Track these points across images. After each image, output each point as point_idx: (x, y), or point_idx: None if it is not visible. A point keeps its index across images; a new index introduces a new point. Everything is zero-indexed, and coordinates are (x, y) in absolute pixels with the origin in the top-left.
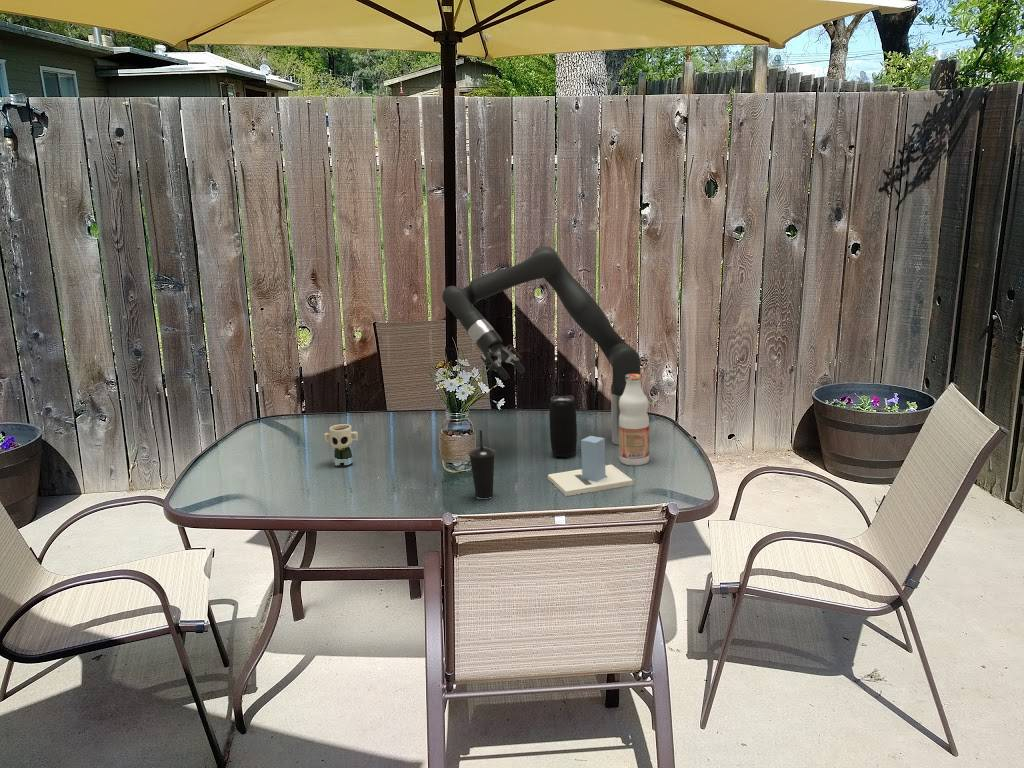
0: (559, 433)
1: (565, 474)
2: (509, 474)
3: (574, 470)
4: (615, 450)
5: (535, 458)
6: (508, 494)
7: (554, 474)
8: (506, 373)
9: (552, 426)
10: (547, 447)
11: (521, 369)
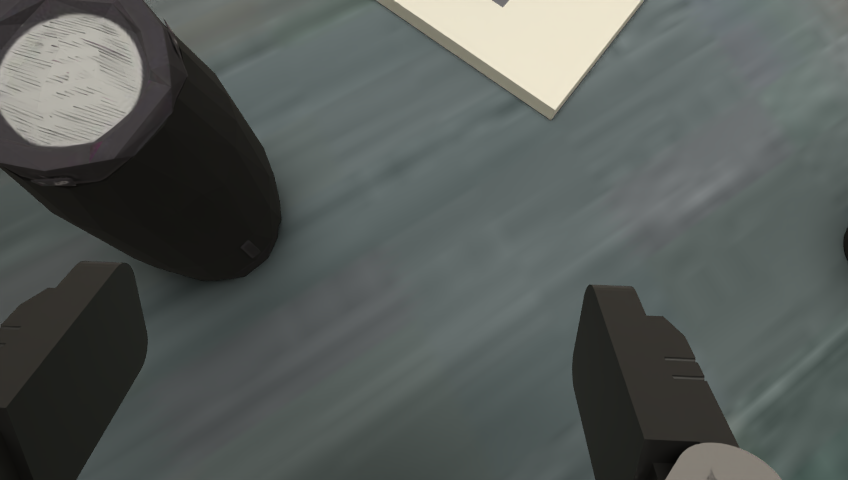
0: (259, 150)
1: (513, 43)
2: None
3: (448, 34)
4: None
5: (326, 329)
6: (794, 172)
7: (537, 84)
8: (628, 309)
9: (243, 186)
10: None
11: (114, 314)
